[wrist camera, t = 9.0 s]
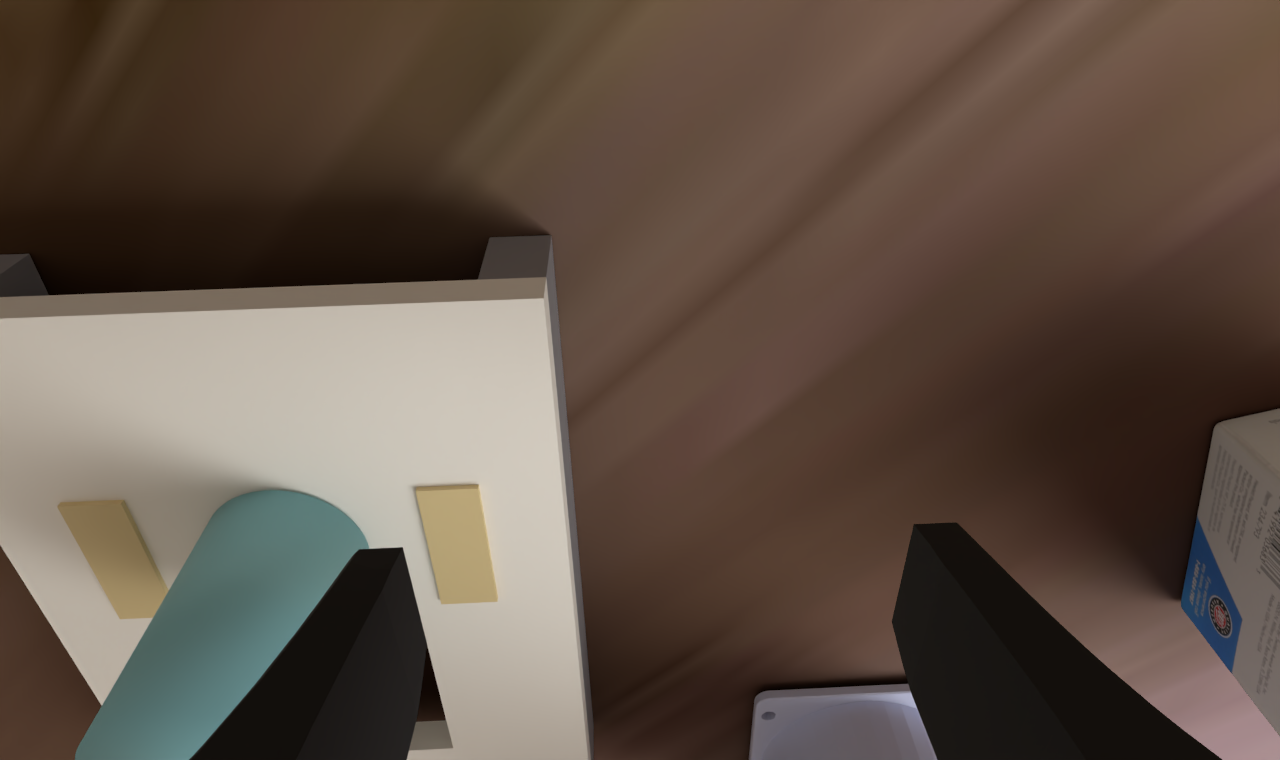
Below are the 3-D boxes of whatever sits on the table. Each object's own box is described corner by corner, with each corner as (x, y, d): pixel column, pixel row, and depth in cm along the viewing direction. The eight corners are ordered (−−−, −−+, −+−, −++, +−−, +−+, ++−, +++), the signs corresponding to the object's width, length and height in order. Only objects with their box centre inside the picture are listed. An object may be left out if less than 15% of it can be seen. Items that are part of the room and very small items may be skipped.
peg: (412, 522, 25) (325, 836, 17) (264, 520, 24) (105, 839, 17) (396, 403, 22) (285, 706, 14) (231, 400, 22) (26, 707, 14)
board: (593, 726, 31) (593, 817, 28) (220, 745, 30) (181, 838, 28) (551, 235, 20) (542, 301, 17) (-35, 255, 19) (-146, 327, 16)
